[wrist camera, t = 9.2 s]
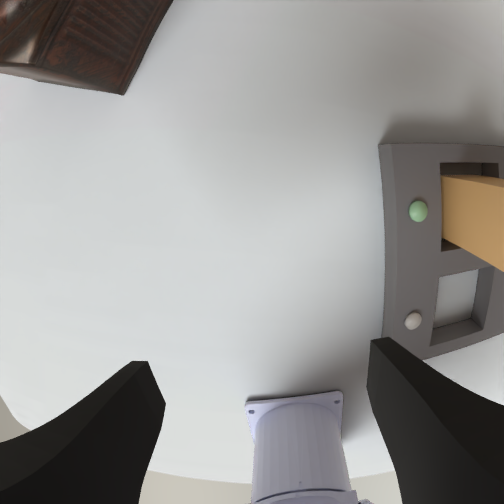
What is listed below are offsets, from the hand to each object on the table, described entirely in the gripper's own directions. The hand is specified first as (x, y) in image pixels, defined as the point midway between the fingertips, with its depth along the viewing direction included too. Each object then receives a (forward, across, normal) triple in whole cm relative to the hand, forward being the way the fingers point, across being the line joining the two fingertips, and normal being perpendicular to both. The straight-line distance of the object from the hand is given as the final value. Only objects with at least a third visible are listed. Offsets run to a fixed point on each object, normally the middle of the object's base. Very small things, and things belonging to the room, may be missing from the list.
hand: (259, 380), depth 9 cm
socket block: (+10, -14, +1) cm, 17 cm away
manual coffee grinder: (+11, +11, -21) cm, 26 cm away
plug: (+10, -14, -3) cm, 18 cm away
